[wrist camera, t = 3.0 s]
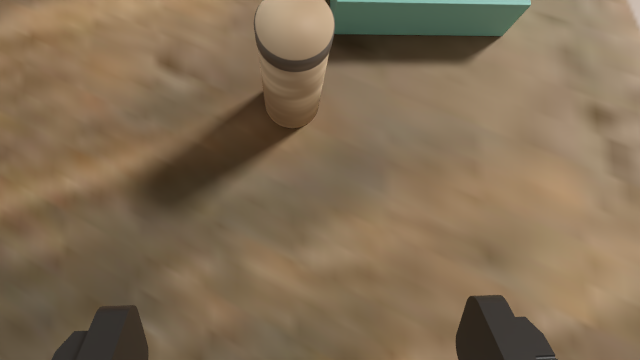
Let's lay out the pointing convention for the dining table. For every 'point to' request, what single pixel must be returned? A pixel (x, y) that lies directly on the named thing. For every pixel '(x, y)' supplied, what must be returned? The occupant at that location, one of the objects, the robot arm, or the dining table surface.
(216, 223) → the dining table surface
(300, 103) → the tan banded cylinder
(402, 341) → the dining table surface
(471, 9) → the teal square frame
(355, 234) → the dining table surface
